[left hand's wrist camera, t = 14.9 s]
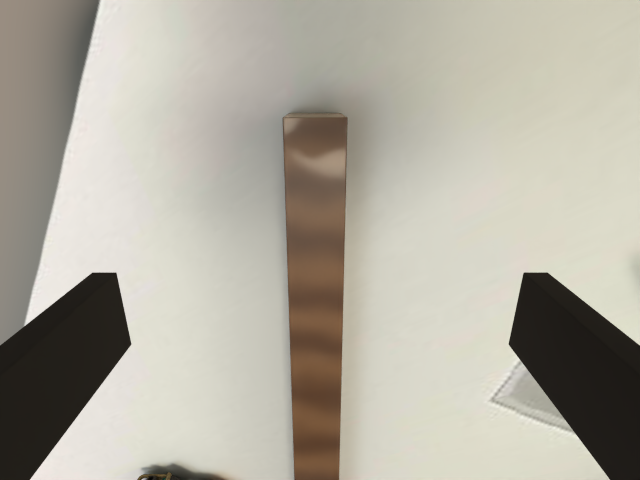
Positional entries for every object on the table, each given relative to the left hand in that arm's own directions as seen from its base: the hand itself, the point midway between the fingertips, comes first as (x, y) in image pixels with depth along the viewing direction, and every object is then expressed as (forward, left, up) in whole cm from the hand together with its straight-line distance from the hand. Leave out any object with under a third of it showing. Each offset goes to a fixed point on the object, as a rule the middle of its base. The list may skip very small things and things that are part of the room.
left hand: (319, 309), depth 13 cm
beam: (+30, +13, -28) cm, 43 cm away
